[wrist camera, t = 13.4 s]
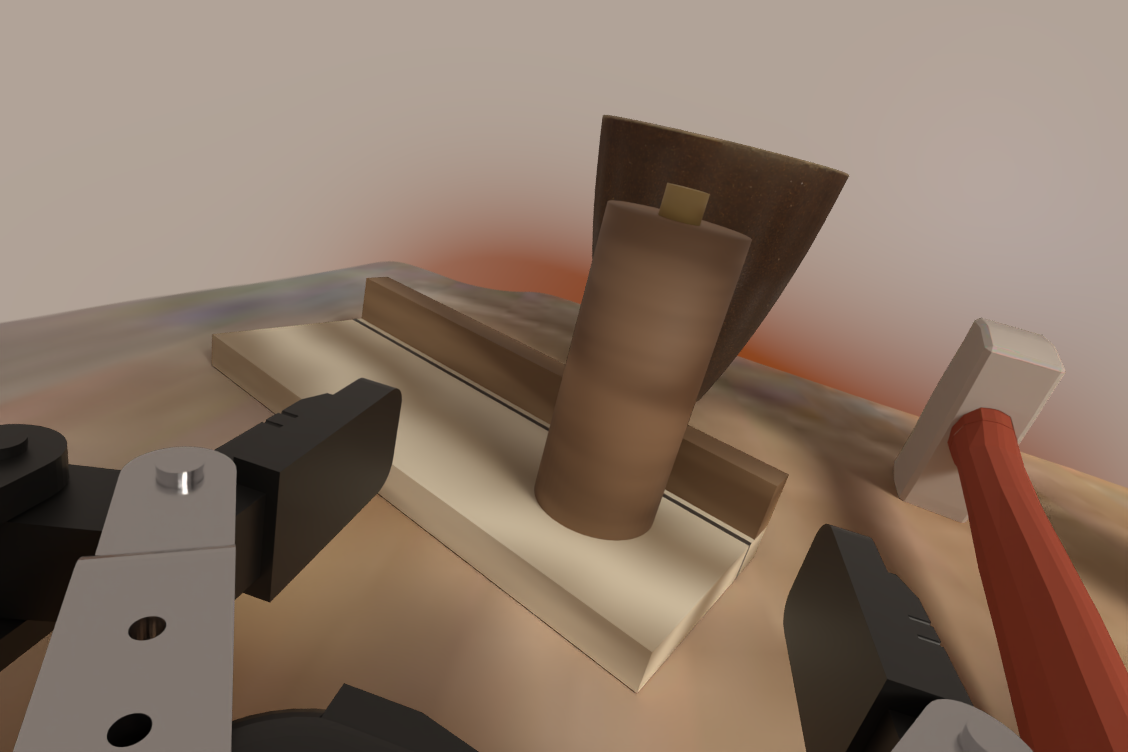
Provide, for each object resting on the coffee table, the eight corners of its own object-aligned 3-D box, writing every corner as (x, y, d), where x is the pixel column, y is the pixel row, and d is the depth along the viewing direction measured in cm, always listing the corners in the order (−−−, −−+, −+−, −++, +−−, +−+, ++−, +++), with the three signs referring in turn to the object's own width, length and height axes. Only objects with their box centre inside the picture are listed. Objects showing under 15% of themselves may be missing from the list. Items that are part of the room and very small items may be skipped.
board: (379, 340, 38) (387, 277, 37) (753, 557, 26) (788, 474, 24) (211, 364, 30) (214, 284, 29) (636, 693, 18) (679, 582, 17)
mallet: (1623, 1098, 8) (1047, 331, 33) (1289, 937, 9) (975, 310, 34) (1120, 1238, 13) (952, 484, 38) (944, 1128, 14) (892, 463, 39)
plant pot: (744, 463, 34) (859, 169, 29) (507, 374, 38) (568, 99, 32) (761, 388, 48) (842, 177, 42) (585, 327, 52) (637, 127, 46)
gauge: (570, 413, 31) (637, 168, 27) (663, 441, 30) (746, 196, 26) (519, 513, 22) (605, 170, 18) (649, 556, 22) (771, 214, 17)
